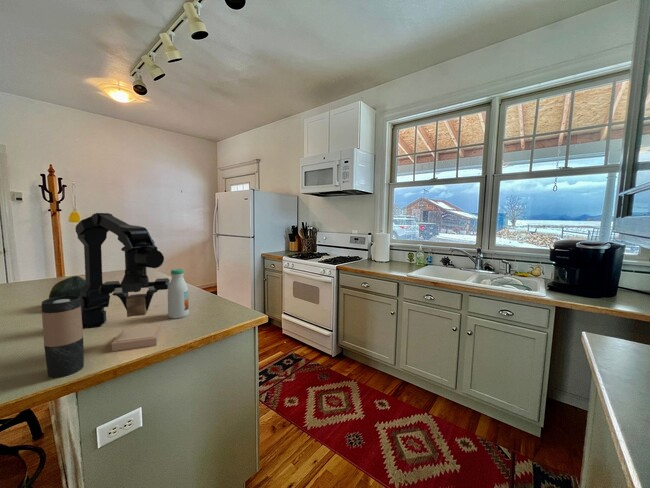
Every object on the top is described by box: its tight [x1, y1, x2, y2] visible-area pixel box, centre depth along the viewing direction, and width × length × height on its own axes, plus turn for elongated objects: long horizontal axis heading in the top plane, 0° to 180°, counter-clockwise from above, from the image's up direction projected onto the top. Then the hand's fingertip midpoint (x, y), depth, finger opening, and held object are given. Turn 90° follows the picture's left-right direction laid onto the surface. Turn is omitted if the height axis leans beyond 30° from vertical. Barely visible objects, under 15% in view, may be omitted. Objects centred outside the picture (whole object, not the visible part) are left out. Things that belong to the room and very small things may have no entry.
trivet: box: [111, 324, 163, 352], centre depth 92 cm, size 12×12×3 cm
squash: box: [48, 275, 86, 299], centre depth 122 cm, size 14×15×15 cm
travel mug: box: [41, 296, 85, 379], centre depth 73 cm, size 8×8×20 cm
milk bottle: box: [167, 268, 190, 319], centre depth 114 cm, size 8×8×20 cm
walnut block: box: [126, 293, 149, 318], centre depth 91 cm, size 5×5×6 cm
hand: (137, 310), depth 91 cm, fingers closed on walnut block, 5 cm apart
